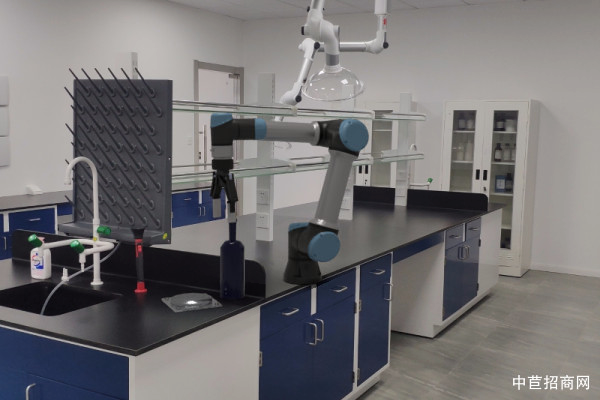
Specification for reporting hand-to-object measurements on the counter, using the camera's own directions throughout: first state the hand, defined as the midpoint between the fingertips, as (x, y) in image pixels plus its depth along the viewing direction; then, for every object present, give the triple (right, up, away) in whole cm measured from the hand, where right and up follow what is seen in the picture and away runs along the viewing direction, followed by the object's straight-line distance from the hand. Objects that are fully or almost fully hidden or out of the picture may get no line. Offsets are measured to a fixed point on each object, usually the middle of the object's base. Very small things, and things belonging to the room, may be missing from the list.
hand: (224, 219), depth 217 cm
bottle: (+2, -27, +5) cm, 28 cm away
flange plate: (-10, -28, -5) cm, 30 cm away
